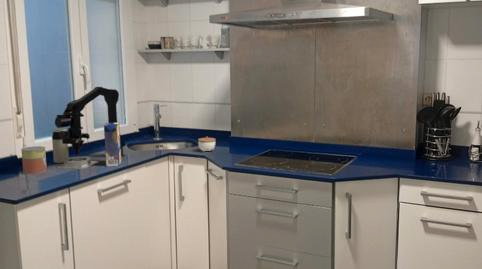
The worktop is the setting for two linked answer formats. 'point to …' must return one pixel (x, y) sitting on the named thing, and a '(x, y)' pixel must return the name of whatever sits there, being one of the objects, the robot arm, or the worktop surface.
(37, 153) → the canned food
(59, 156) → the travel mug
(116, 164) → the beverage box
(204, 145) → the lidded jar
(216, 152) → the worktop surface
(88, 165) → the grey faceted ring
